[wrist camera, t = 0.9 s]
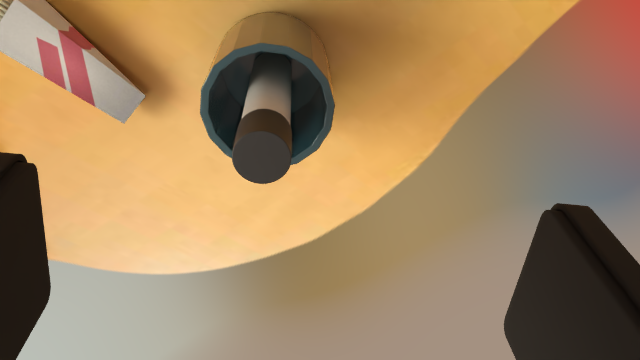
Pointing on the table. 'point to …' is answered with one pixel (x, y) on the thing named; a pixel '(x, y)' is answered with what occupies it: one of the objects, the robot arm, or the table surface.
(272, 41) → the pen holder
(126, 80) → the paintbrush
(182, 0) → the table surface
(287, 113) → the marker
